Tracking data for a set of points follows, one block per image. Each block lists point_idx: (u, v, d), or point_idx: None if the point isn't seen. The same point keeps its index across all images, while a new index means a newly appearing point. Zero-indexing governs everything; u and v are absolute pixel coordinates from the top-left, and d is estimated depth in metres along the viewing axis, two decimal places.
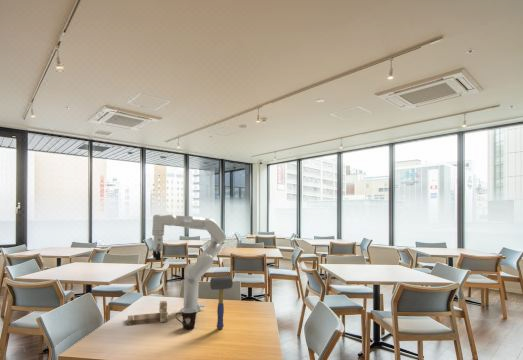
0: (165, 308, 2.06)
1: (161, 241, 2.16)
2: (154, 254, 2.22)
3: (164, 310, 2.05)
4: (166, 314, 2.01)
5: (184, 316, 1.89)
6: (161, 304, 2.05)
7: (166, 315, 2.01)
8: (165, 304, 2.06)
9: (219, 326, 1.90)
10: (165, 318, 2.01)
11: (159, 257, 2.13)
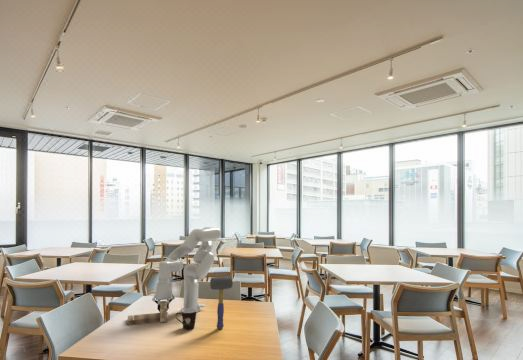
0: (165, 308, 2.06)
1: None
2: None
3: (164, 310, 2.05)
4: (166, 314, 2.01)
5: (184, 316, 1.89)
6: (161, 304, 2.05)
7: (166, 315, 2.01)
8: (165, 304, 2.06)
9: (219, 326, 1.90)
10: (165, 318, 2.01)
11: (168, 306, 2.09)
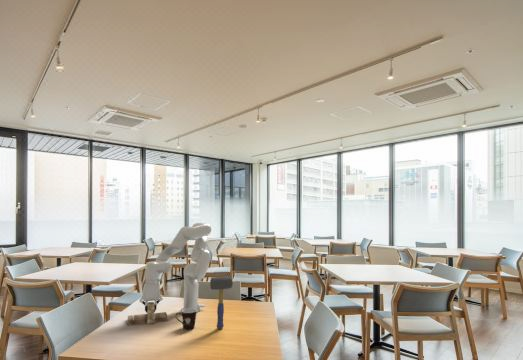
0: (153, 310, 2.03)
1: None
2: None
3: (151, 311, 2.02)
4: (153, 315, 1.98)
5: (184, 316, 1.89)
6: (148, 305, 2.02)
7: (153, 316, 1.98)
8: (152, 305, 2.03)
9: (219, 326, 1.90)
10: (152, 319, 1.98)
11: None
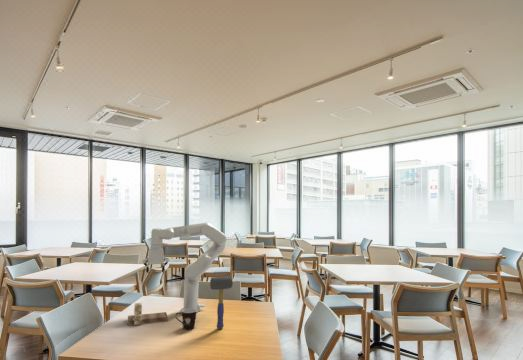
0: (140, 311, 2.00)
1: None
2: (148, 269, 2.19)
3: (139, 312, 2.00)
4: (140, 317, 1.95)
5: (184, 316, 1.89)
6: (135, 306, 1.99)
7: (140, 318, 1.95)
8: (140, 306, 2.00)
9: (219, 326, 1.90)
10: (139, 321, 1.95)
11: None
